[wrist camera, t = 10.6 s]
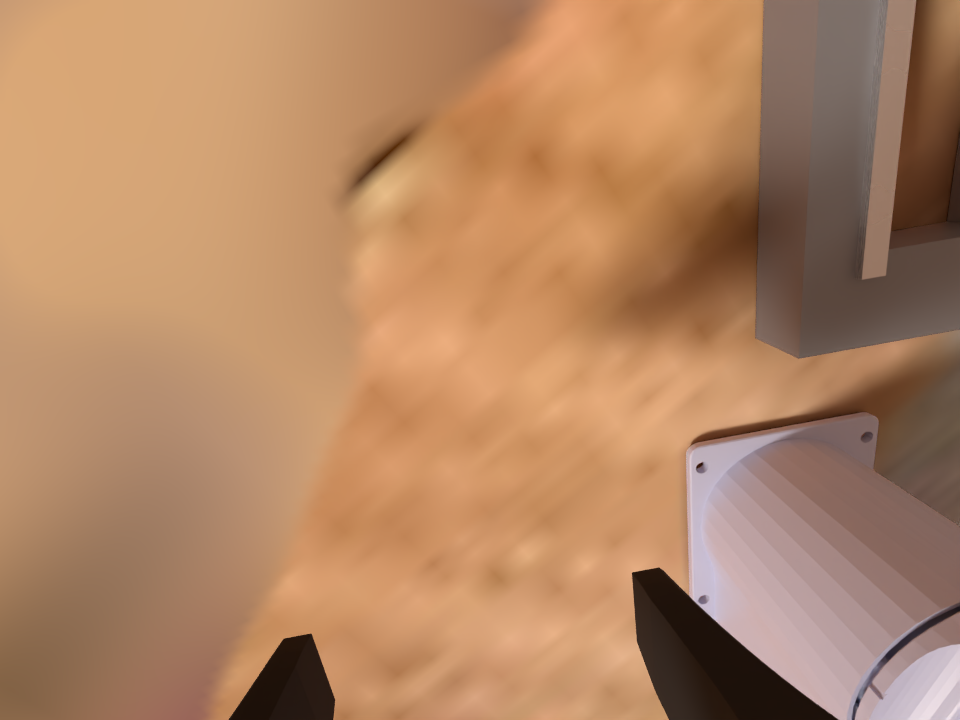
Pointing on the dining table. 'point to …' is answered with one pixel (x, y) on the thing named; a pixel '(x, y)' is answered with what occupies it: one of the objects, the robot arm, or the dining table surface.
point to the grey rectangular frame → (843, 185)
